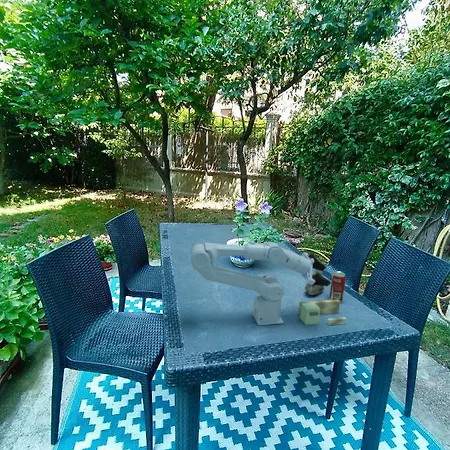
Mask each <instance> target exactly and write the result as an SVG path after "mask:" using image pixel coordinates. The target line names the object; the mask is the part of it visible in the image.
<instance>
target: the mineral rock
mask: <svg viewBox="0 0 450 450" xmlns="http://www.w3.org/2000/svg"><path fill="white" fill-rule="evenodd" d="M318 272H319V274H320V275H321V276H323V275H324V274H323V273H324V271H320V270H317V269H315V271H314V273H312V275H316V274H317V273H318ZM323 277H324V276H323ZM304 289H305V290H306V293H307V294H308V295H309V296H315V295H316V296H317V295H318V294H320V293H322V292H323V291H325V286H321V285H316V286H309V285H308V284H307V283H306V284H305V287H304Z"/></svg>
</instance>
